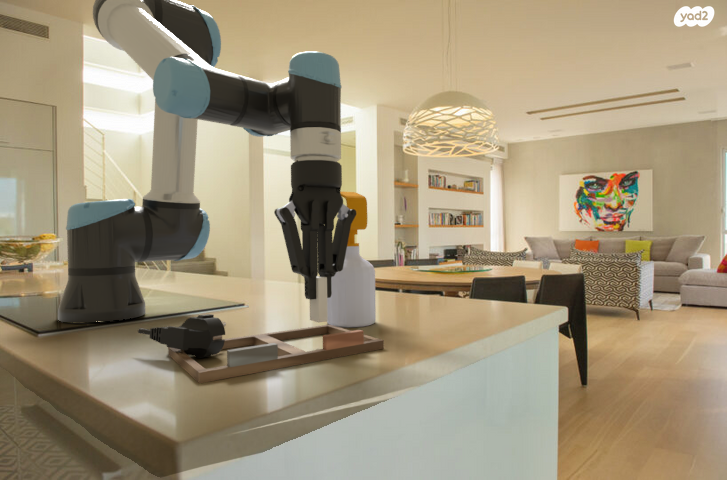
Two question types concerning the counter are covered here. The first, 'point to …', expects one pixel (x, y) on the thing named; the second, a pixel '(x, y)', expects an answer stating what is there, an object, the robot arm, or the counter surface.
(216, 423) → the counter surface
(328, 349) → the strip
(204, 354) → the power plug
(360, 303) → the soap bottle
